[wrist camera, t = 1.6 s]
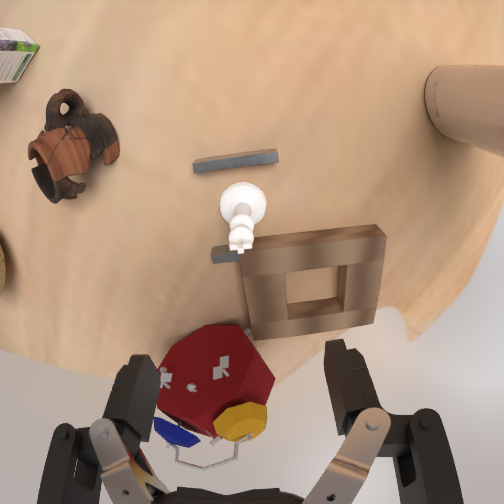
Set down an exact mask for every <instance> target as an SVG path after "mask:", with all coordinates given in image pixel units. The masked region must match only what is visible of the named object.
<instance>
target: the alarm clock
mask: <svg viewBox="0 0 504 504" xmlns="http://www.w3.org/2000/svg"><path fill="white" fill-rule="evenodd" d="M248 334H249V329H247V328H245V329H244V330H242V328H241V327H240V325H205V326H204V327H202V328H200V329H199V330H197V331H195V332H194V333H192V334H191V335H189V336H187V337H186V338H184V339H182V340H181V341H179V342H177V343H176V344H174V345H172V347H171V348H170V350H169V352H168V353H167V355H166V356H165V358H164V359H163V361H162V363H161V364H160V366H159V367H158V369H157V370H158V372H159V374H160V378H161V386H160V391H159V395H158V399H157V408H158V409H159V410H160V411H162V412H163V413H164V414H166V415H167V416H168V417H170V418H171V419H172V420H174V421H175V422H177V423H178V426H177V425H175V424H172V423H170V422H168V421H166V420H164V419H162V418H158V417H154V418H153V419H154V428H155V431H156V432H157V433H158V434H159V435H161V436H162V437H163V438H164V439H165V440H166V441H167V443H168V444H167V446H166V447H169V446H172V447H173V448H174V449H176V455H175V463H178V464H181V465H184V466H187V467H191V468H195V469H199V470H202V471H204V470H208V469H211V468H214V467H217V466H220V465H222V464H226V463H228V462H231V461H234V460H237V455H238V444H239V443H241V442H244V441H247V440H252V439H253V438H256V437H257V436H258V435H259V434H260V433H261V432H262V431H264V429H265V428H266V422H267V407H266V406H265V405H266V403H267V400H268V397H269V395H270V392H271V389H272V387H273V384H274V381H275V377H274V375H273V374H272V372H271V371H270V369H269V368H268V366H267V365H266V363H265V362H264V360H263V359H262V357H261V356H260V354H259V353H258V351H257V350H256V348H255V347H254V346H253V344H252V343H251V341H250V340H249V338H248V337H247V336H248ZM180 425H181V426H182V427H184V428H185V429H187V430H190V431H193V432H197V433H200V434H203V435H206V436H209V437H212V438H213V440H212V441H211V442H210V444H211V445H214V444H215V443H217V442H218V441H219V440H220V439H222V438H224V439H226V440H228V441H233V442H235V447H234V457H232V458H230V459H227V460H224V461H221V462H218V463H215V464H212V465H209V466H206V467H200V466H197V465H193V464H189V463H186V462H182V461H179V460H178V455H179V447H177V446H175V445H179V446H183V447H188V448H189V447H191V446H193V445H195V444H197V443H198V442H200V440H199V439H198V437H197V436H195V435H193V434H191V433H189V432H188V431H186V430H184V429H183V428H181V427H180ZM173 444H174V445H173Z"/></svg>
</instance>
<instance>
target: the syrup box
mask: <svg viewBox="0 0 504 504" xmlns="http://www.w3.org/2000/svg"><path fill="white" fill-rule="evenodd" d="M38 48H39V45H38V44H37V43H36V42H35V41H34V40H33V39H31V38H30V37H29V36H28V35H27V34H26V33H25V32H24V31H23V30H17V29H8V28H0V83H14V82H18V81H19V79H20V76H21V75H22V73H23V71H24V70H25V68H26V67H27V65H28V63H29V62H30V60H31V58H32V57H33V55H34V54H35V52H36V51H37V49H38Z"/></svg>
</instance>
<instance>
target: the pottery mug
mask: <svg viewBox="0 0 504 504" xmlns="http://www.w3.org/2000/svg"><path fill="white" fill-rule="evenodd" d="M62 103H66V104H67V105H68V106H69V110H68V112H67V113H66V114H64V115H62V114H61V113H60V106H61V104H62ZM66 125H70V126H71V125H74V127H73V128H72V129H71V130H69V132H68V131H67V129H66V128H65V126H66ZM44 129H45V131H46V132H44V131H43V130H42V131H41V132H40V134H39V136H38V138H37V139H36V140H34V141H31V142H30V143H29V145H28V158H29V160H32V159H34V158H35V157H36V160H37V163H38V166H37V167H35V168H32V169H31V170H32V173H33V176H34V178H35V180H36V182H37V184H38V186H39V188H40V189H41V191H42V192H43V193H44V195H45V196H46V197H47V198H48V199H49V200H50V201H51V202H52V203H55V204H57V203H58V202H59V201H60V200H61V199H76V198H77V194H78V193H82V192H83V191H84V189H85V187H86V184H85V183H80V184H78V183H76V182H74V181H72V180H71V179H69V178H68V177H67V176H73V175H79V174H83V173H85V171H87V170H88V168H89V166H90V160H92V159H94V158H95V157H96V156H97V155H98V154H99V153H100V152H101V151H102V153H103V157H104V165H109V164H111V163H112V161H114V160H115V159H116V158H117V157H118V156H119V144H118V140H117V135H116V133H115V129H114V127H113V126H112V124H111V122H110V121H109V119H108V118H106V117H105V116H104V115H103V114H101V113H99V114H88V110H87V109H86V108H85V106H84V103H83V101H82V99H81V97H80V96H79V95H78V94H77V93H76V92H75V91H73V90H71V89H62V90H60V92H58V93H57V94H54V95H53V96H52V97H51V98H50V100H49V102H48V104H47V107H46V124H45V127H44Z"/></svg>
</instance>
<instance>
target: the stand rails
mask: <svg viewBox="0 0 504 504" xmlns="http://www.w3.org/2000/svg"><path fill="white" fill-rule="evenodd" d="M276 162H279V159H278V152H277V150H276V149H269V150H260V151H252V152H244V153H236V154H229V155H222V156H216V157H210V158H204V159H198V160H195V161H194V163H193V169H194V174H196V173H202V172H208V171H214V170H221V169H228V168H235V167H242V166H250V165H258V164H267V163H276ZM211 256H212V260H213V264H214V263H222V262H231V261H240V260H239V254H238V250H230V247H229V245H224V246H215V247H213V251H212V255H211Z"/></svg>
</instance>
